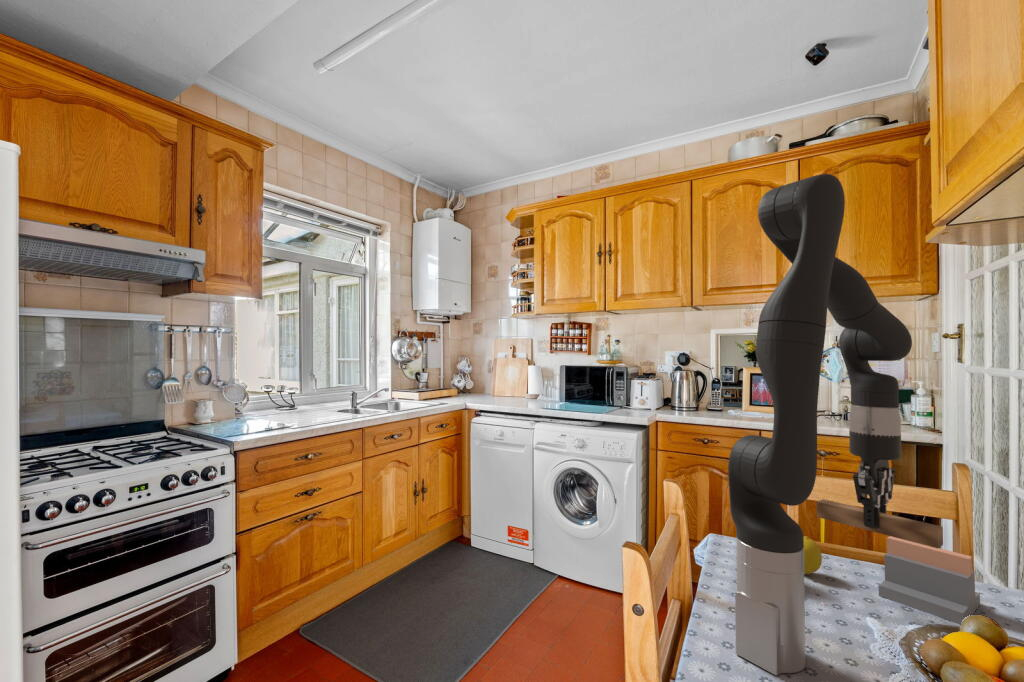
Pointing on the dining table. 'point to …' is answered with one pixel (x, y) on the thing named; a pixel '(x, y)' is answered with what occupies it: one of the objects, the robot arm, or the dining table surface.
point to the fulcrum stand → (929, 579)
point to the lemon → (811, 556)
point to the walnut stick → (882, 523)
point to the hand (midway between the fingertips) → (875, 525)
